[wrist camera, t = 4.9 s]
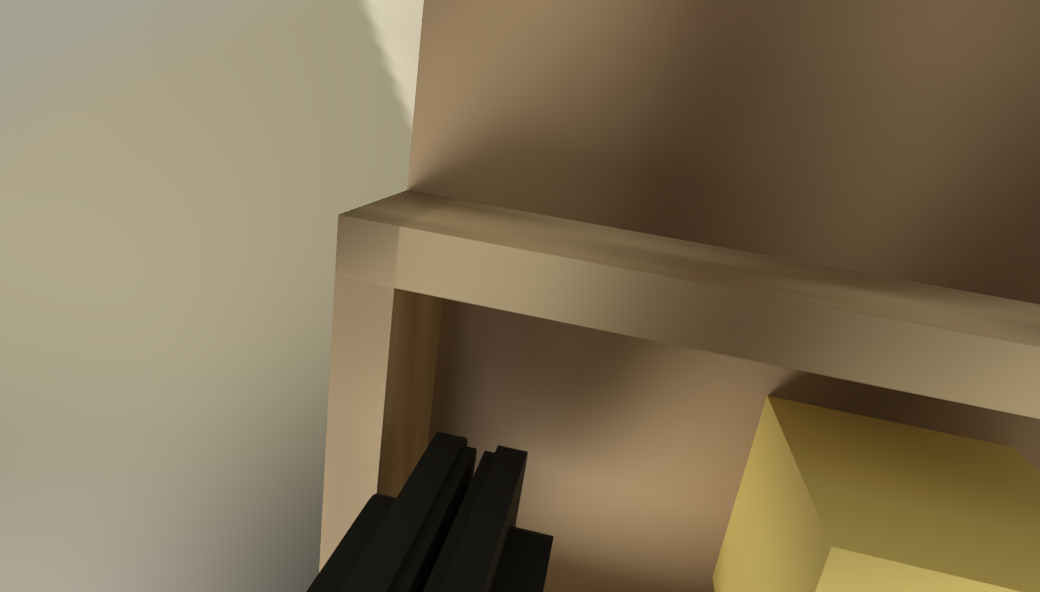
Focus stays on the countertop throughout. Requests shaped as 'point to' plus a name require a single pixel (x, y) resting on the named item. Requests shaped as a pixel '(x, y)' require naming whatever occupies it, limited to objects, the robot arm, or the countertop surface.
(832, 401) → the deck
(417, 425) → the cubby
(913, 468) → the cube
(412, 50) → the countertop surface
